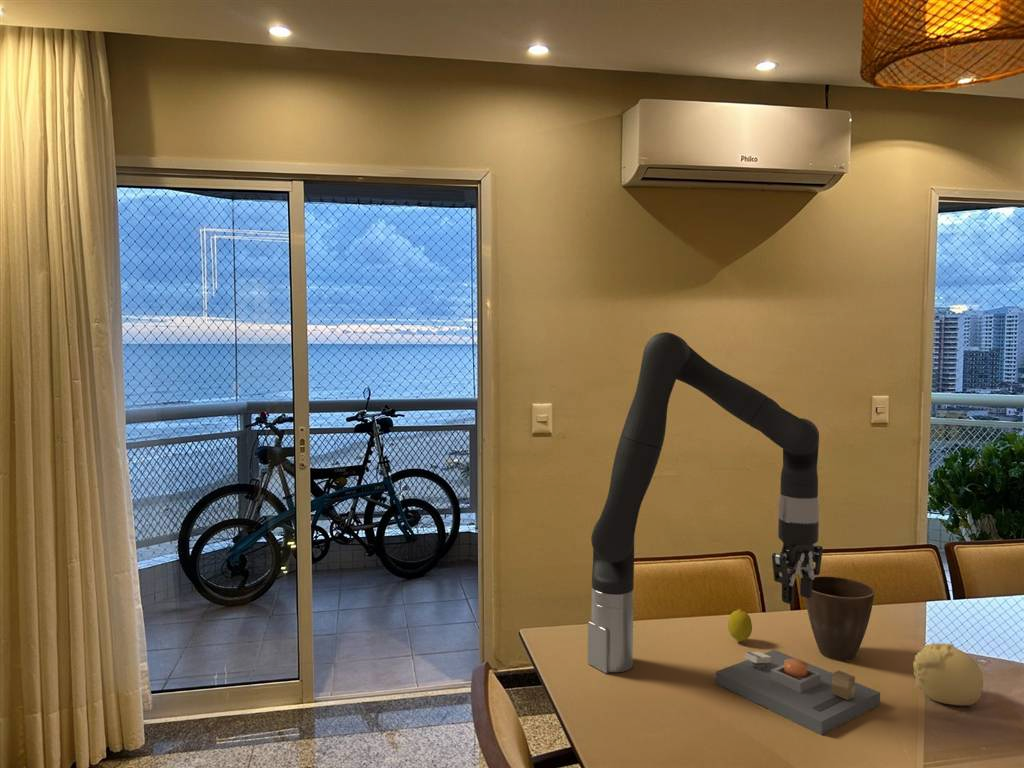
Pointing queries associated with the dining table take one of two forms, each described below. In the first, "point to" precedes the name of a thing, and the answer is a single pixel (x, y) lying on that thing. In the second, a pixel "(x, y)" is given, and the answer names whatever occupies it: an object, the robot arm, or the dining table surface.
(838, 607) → the plant pot
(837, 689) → the slide paddle
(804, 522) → the robot arm
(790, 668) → the push button
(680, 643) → the dining table surface
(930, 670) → the sculpture
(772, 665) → the control panel
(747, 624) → the lemon
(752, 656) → the rocker switch
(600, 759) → the dining table surface
